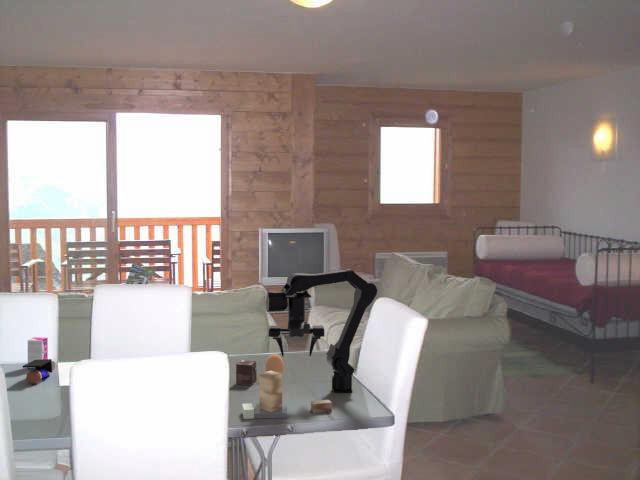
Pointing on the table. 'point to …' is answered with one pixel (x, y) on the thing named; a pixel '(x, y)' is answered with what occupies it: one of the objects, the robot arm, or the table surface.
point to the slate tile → (267, 414)
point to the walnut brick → (321, 406)
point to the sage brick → (248, 411)
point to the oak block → (270, 390)
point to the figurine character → (39, 370)
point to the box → (246, 372)
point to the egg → (274, 363)
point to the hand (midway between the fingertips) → (296, 356)
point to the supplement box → (37, 349)
